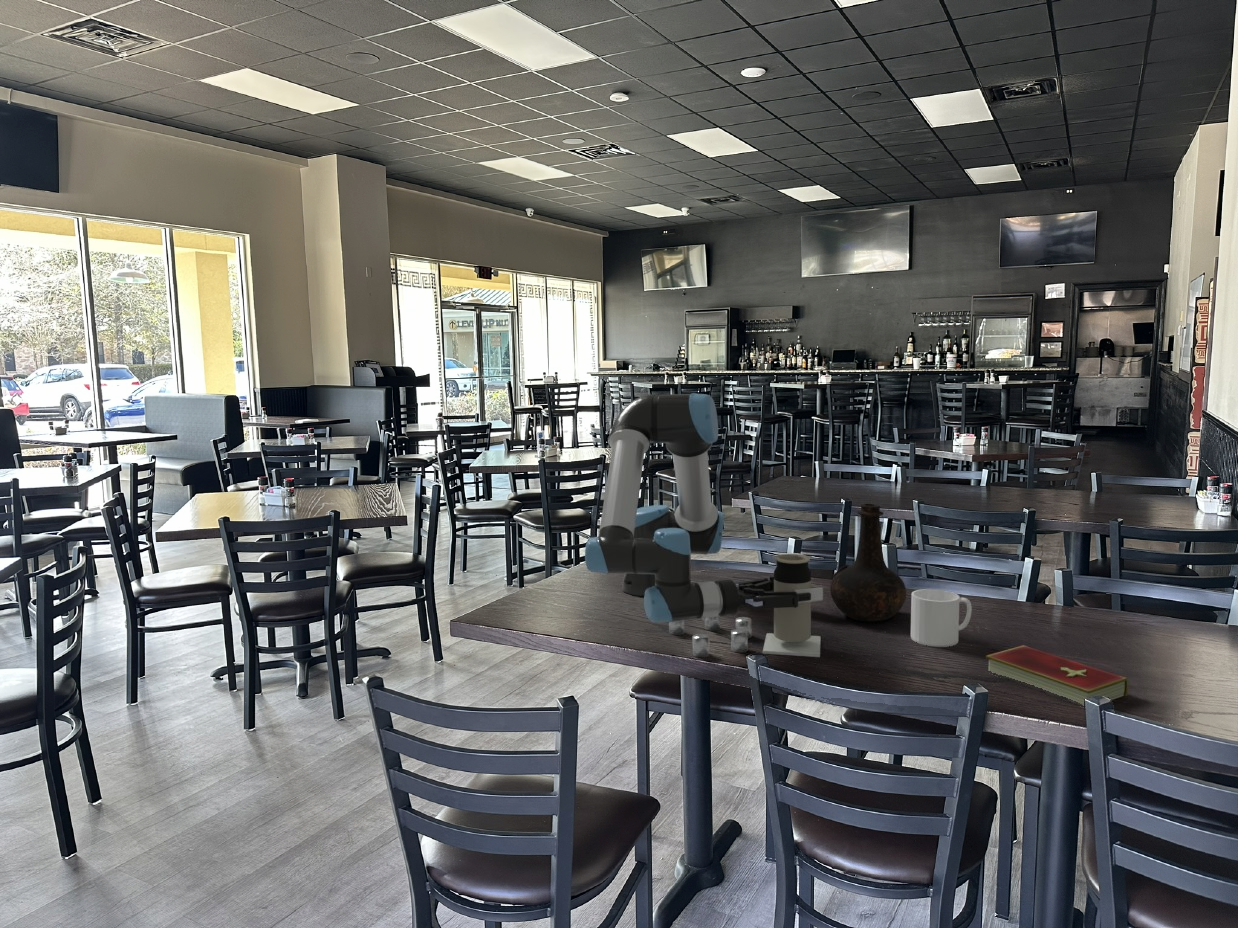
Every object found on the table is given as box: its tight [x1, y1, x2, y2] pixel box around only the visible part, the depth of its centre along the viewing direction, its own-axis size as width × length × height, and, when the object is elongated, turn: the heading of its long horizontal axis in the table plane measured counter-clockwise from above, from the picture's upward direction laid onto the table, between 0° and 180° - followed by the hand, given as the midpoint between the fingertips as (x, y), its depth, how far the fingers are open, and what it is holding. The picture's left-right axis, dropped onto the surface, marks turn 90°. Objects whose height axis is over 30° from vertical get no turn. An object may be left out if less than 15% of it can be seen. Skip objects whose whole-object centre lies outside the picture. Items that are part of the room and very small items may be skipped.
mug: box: [910, 588, 973, 648], centre depth 183 cm, size 13×10×10 cm
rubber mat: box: [762, 632, 821, 658], centre depth 182 cm, size 12×12×1 cm
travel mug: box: [773, 553, 812, 642], centre depth 180 cm, size 8×8×18 cm
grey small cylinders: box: [668, 615, 752, 658], centre depth 186 cm, size 22×19×4 cm
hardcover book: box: [985, 645, 1129, 706], centre depth 158 cm, size 12×21×4 cm, turn 29°
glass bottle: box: [829, 503, 907, 623], centre depth 200 cm, size 18×18×28 cm
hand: (811, 588), depth 182 cm, fingers closed on travel mug, 8 cm apart
